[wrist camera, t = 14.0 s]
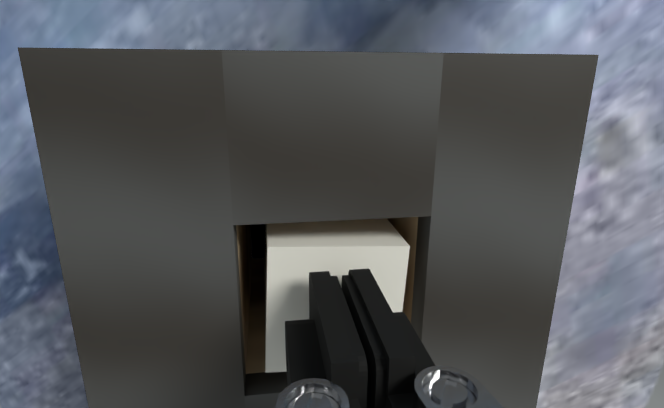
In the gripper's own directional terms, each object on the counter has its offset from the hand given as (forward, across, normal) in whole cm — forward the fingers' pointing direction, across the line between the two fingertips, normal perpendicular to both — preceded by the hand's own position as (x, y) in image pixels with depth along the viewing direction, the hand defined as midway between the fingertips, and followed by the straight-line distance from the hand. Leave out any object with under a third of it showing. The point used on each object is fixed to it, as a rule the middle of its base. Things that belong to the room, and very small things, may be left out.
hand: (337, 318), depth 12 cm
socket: (+10, 0, 0) cm, 10 cm away
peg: (+10, 0, 0) cm, 11 cm away
